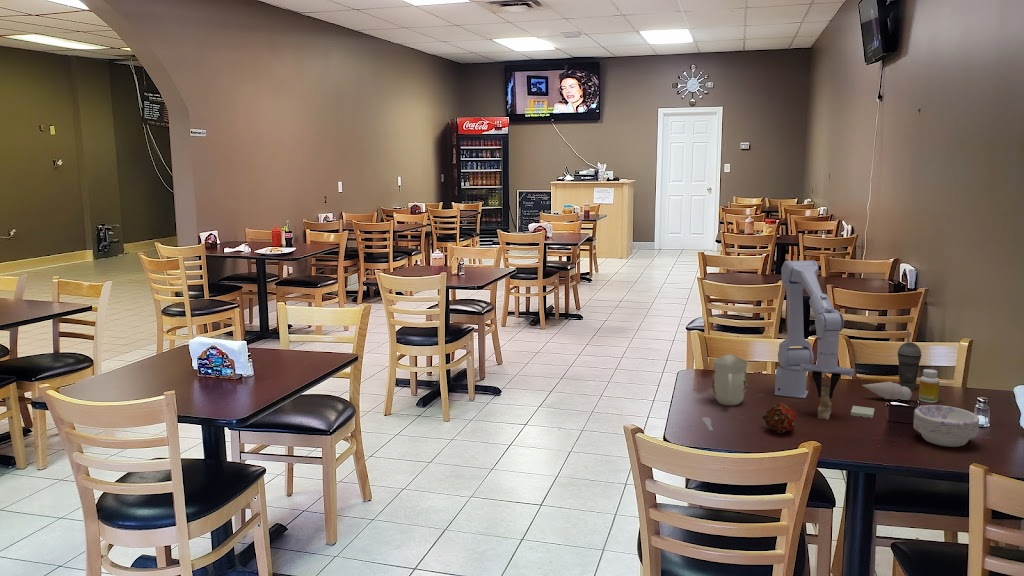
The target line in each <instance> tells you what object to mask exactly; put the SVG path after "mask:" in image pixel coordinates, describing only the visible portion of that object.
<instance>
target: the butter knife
mask: <svg viewBox="0 0 1024 576" xmlns="http://www.w3.org/2000/svg"><path fill="white" fill-rule="evenodd" d="M701 420H702V422H703V423H704V424H705V426H706V427H707V429H708V431H714V429H713V427H712V420H711V418H710V417H701Z"/></svg>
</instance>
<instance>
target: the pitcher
mask: <svg viewBox="0 0 1024 576" xmlns="http://www.w3.org/2000/svg"><path fill="white" fill-rule="evenodd" d="M712 361H713V367H714V370H713V372H712V375H711V386H712V387H711V388H712V392H713V395H714V398H715V400H716V401H717V402H718V403H719V404H721V405H724V406H738V405H740V403H742V401H743V400H744V398H745V396H746V394H747V390H748V385H749V377H748V373H747V366H748V361H747V360H745V359H743V358H740V357H738V356H736V355H735V354H731V353H729V354H725V355H723V356H720V357H716V358H715V359H714V360H712Z"/></svg>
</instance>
